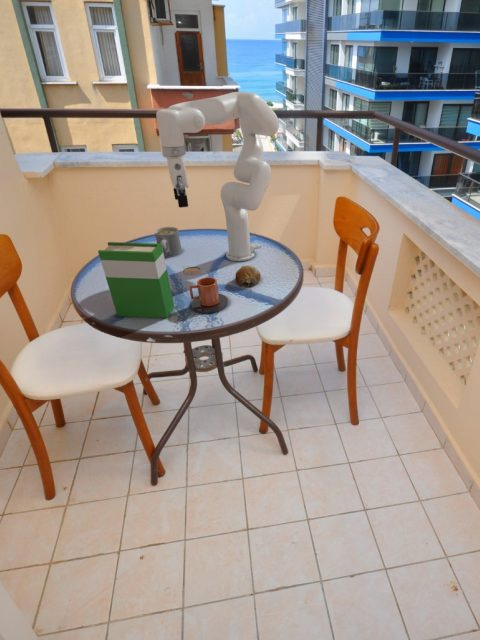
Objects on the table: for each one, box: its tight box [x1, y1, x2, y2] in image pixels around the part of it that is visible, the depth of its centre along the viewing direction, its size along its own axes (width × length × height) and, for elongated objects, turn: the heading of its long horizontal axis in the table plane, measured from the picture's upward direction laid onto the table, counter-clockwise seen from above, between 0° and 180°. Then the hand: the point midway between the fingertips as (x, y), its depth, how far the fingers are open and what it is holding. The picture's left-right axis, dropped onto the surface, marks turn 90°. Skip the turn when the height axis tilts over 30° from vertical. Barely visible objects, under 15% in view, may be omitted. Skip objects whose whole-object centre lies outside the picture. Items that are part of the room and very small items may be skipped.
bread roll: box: [235, 265, 261, 287], centre depth 163 cm, size 10×10×8 cm
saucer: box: [190, 293, 229, 314], centre depth 149 cm, size 13×13×1 cm
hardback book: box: [97, 241, 175, 319], centre depth 138 cm, size 18×7×24 cm, turn 86°
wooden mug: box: [188, 276, 220, 306], centre depth 147 cm, size 10×7×8 cm
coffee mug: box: [154, 226, 183, 258], centre depth 182 cm, size 13×10×10 cm
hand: (181, 203), depth 147 cm, fingers open, 9 cm apart
